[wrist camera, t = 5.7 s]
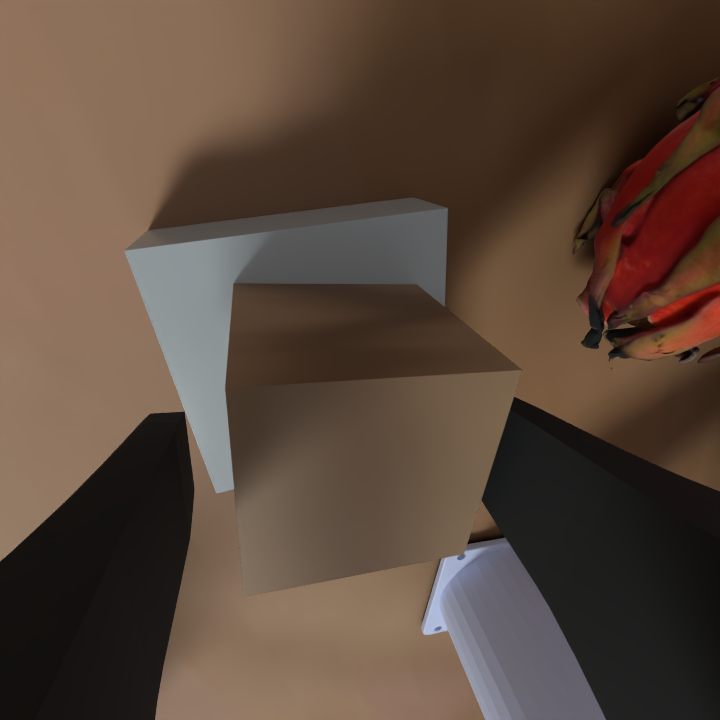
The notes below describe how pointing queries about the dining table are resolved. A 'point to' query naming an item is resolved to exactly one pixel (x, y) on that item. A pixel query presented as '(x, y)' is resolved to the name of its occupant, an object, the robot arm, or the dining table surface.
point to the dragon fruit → (661, 243)
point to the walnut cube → (356, 429)
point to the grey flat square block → (269, 266)
